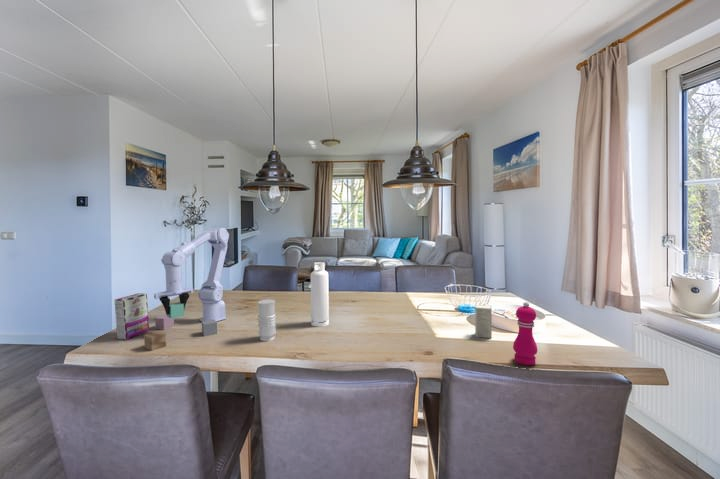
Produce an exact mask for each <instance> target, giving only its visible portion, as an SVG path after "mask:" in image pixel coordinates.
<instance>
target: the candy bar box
mask: <svg viewBox="0 0 720 479" xmlns="http://www.w3.org/2000/svg"><path fill="white" fill-rule="evenodd" d="M147 295H148V294H147V293H143V292H142V293H141V292H139V293H134V294H130V295H126V296H123V297H120V298H115V299H114V308H115V309H114V311H115V312H114V313H115V325H116V326H115V327H116V336H117V337H116V339H118V340H123V341H125V340H126V341H127V340H129V339H132V338H134V337H137V336H139V335H142V334H145V333H147V332H149V331H150V324H149V308H148V307H149V306H148V304H149V303H148V296H147Z"/></svg>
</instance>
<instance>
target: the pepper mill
mask: <svg viewBox="0 0 720 479" xmlns="http://www.w3.org/2000/svg"><path fill="white" fill-rule="evenodd" d="M515 316H516V318H517V322H516V323H517V326H518V334H517V336H516V338H515V339H514V341H513V343H512V344H513V346H512V349H513V351H514V352H515V353H514V358H513V359H514V361H515V362H517V363H519V364H520V365H525V366H531V365H535V364H536V356H535V355H537V353H538V346H537V342H536V340H535V338H534V336H533V335H534V334H533V328H534V327H535V322H534V321H535V320H536V318H537V312H536V310H535V309H534V308H532V307H530V303H529V302H528V301H524V302H523V304H522V306H518V308H517V309H516V311H515Z"/></svg>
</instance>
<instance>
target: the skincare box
mask: <svg viewBox="0 0 720 479" xmlns="http://www.w3.org/2000/svg"><path fill="white" fill-rule="evenodd" d="M474 305H475V306H474V307H475V308H474V311H475V314H474V318H475V320H474V321H475V322H474V323H475V325H474V326H475V328H474V329H475V337H477V338H485V339H486V338H487V339H492V338H493V337H492V325H493V324H492V320H493V319H492V318H493V316H492V313H493V312H492V305H483V304H481V305H480V304H474Z"/></svg>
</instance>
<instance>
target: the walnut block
mask: <svg viewBox="0 0 720 479" xmlns="http://www.w3.org/2000/svg"><path fill="white" fill-rule="evenodd" d="M143 340H144V342H143V343H144V349H145V350H149V351H151V352H152V351H156V350H159V349H162V348H165V347H166V346H167V338H166V333H165V332H162V331H159V330H158V331H154V332H151V333H148V334H144V336H143Z"/></svg>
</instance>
